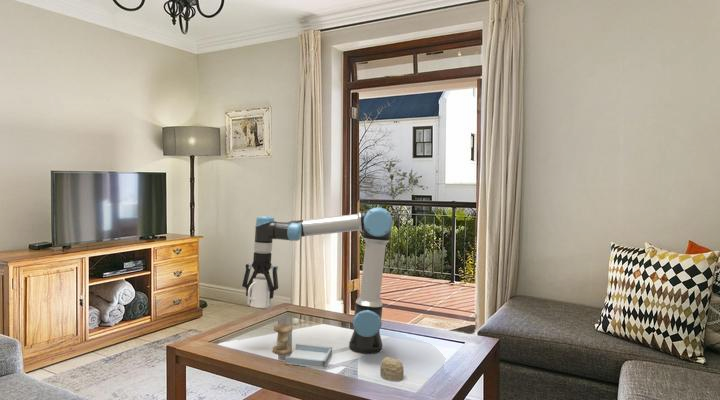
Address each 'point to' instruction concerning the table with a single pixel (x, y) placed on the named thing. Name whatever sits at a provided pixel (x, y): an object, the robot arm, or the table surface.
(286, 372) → the table surface
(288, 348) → the bobbin
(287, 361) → the blue-grey square tray
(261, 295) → the mug
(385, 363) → the sponge
